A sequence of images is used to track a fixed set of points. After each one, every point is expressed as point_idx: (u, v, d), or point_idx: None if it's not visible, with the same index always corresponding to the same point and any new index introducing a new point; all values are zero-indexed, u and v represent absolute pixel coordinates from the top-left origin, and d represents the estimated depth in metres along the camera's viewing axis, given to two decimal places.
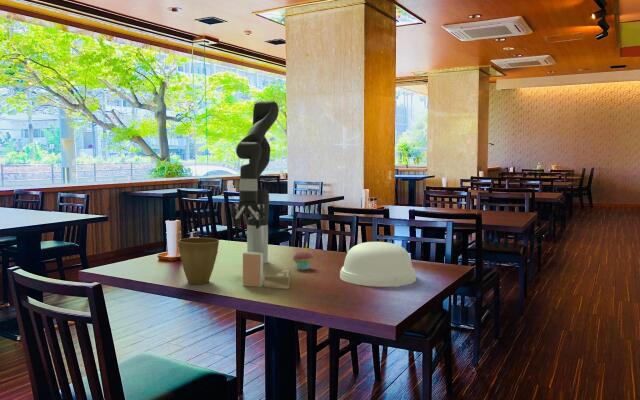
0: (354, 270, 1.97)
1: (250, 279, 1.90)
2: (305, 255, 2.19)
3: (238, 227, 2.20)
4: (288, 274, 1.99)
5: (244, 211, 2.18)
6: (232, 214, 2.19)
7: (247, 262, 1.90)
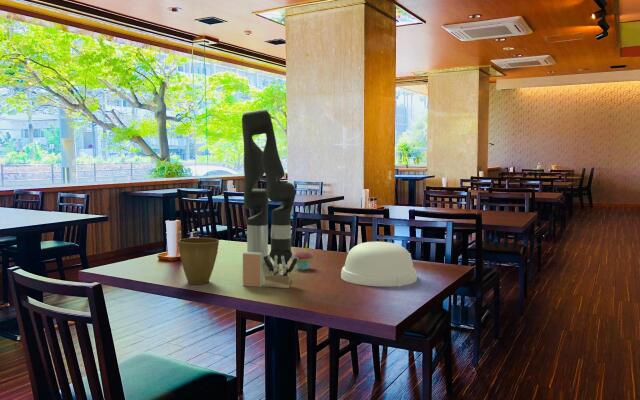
0: (356, 270, 1.97)
1: (250, 279, 1.90)
2: (305, 255, 2.19)
3: None
4: (288, 274, 1.99)
5: (279, 260, 1.92)
6: (270, 267, 1.93)
7: (247, 262, 1.90)
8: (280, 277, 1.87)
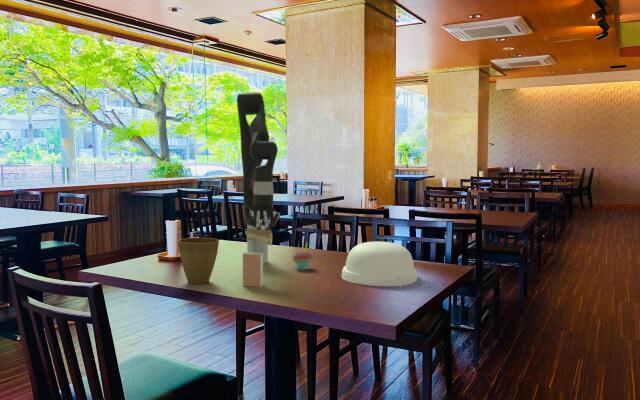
0: (357, 270, 1.97)
1: (250, 279, 1.90)
2: (305, 255, 2.19)
3: None
4: (270, 236, 2.07)
5: (261, 216, 2.00)
6: (253, 223, 2.01)
7: (247, 262, 1.90)
8: (262, 230, 1.96)
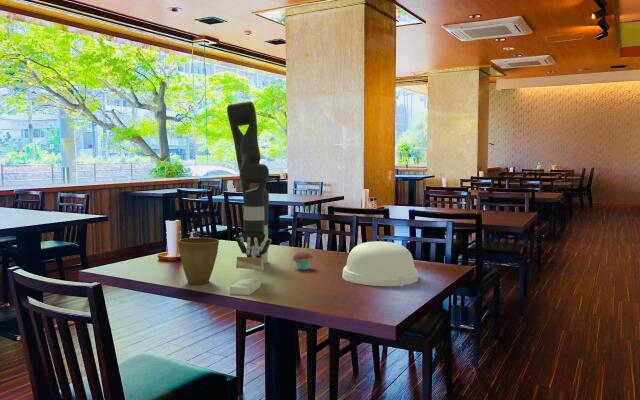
0: (358, 270, 1.97)
1: None
2: (305, 255, 2.19)
3: None
4: (262, 263, 1.97)
5: (252, 242, 1.90)
6: (243, 250, 1.91)
7: None
8: (252, 258, 1.86)
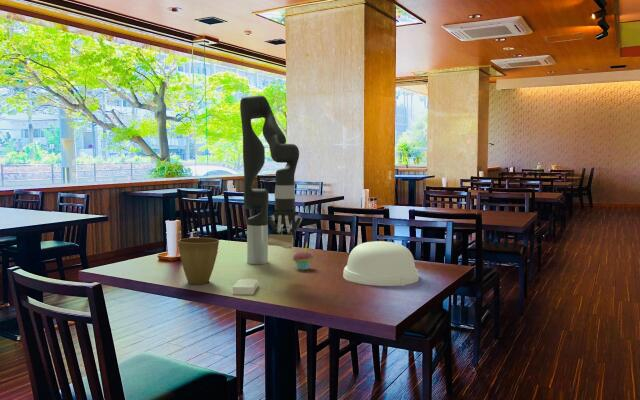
0: (359, 270, 1.98)
1: None
2: (305, 255, 2.19)
3: None
4: None
5: (283, 220, 1.95)
6: (274, 227, 1.96)
7: None
8: (284, 235, 1.91)
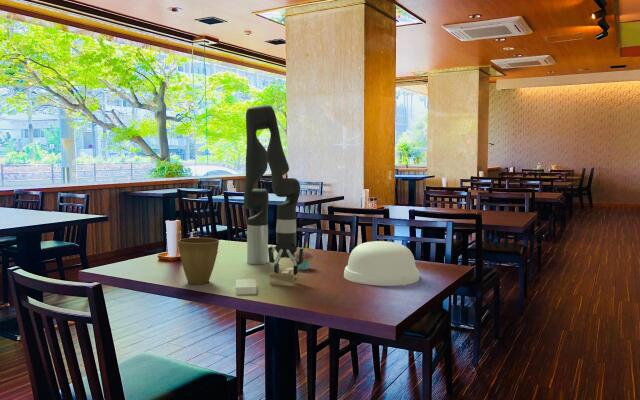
0: (360, 270, 1.98)
1: None
2: (305, 255, 2.19)
3: None
4: None
5: (283, 255, 1.97)
6: (270, 259, 1.98)
7: None
8: (285, 275, 1.92)
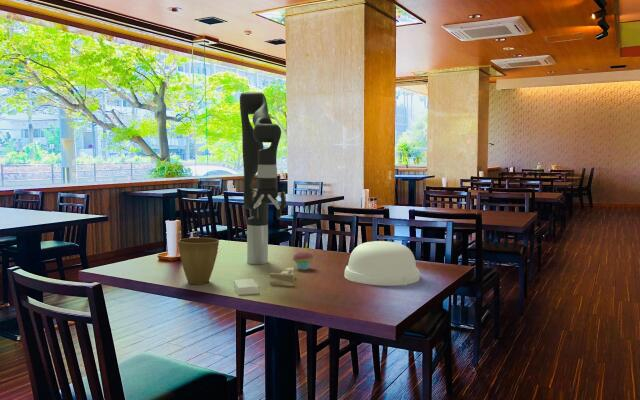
0: (361, 270, 1.98)
1: None
2: (305, 255, 2.19)
3: (257, 217, 2.01)
4: (293, 272, 2.03)
5: (263, 200, 1.99)
6: (250, 203, 2.00)
7: None
8: (285, 275, 1.92)
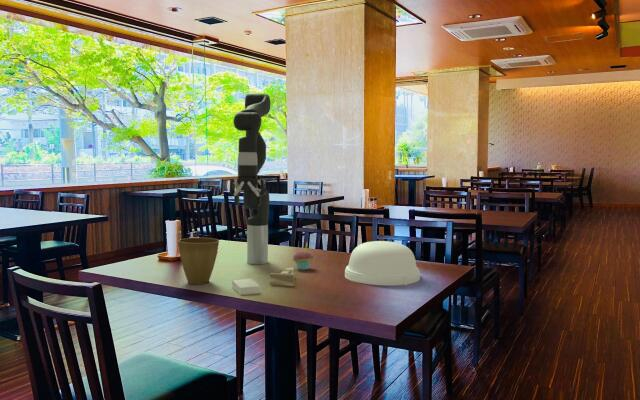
0: (362, 270, 1.98)
1: None
2: (305, 255, 2.19)
3: (237, 204, 2.04)
4: (293, 272, 2.03)
5: (243, 187, 2.02)
6: (230, 191, 2.04)
7: None
8: (285, 275, 1.92)
